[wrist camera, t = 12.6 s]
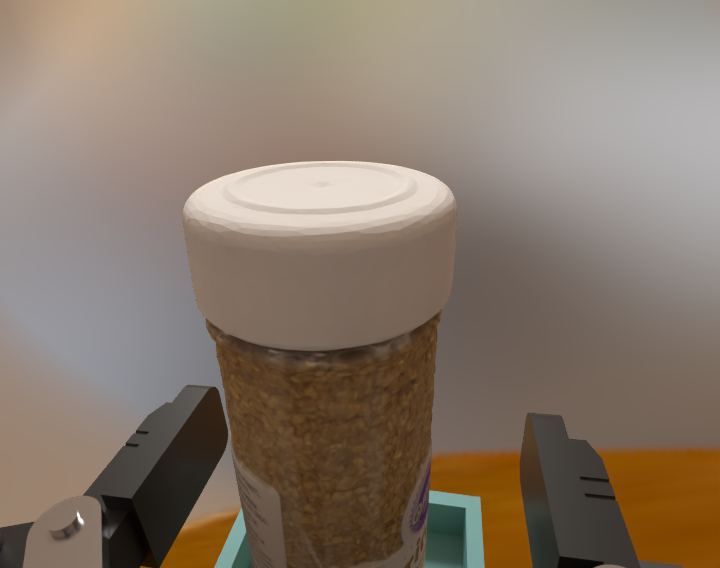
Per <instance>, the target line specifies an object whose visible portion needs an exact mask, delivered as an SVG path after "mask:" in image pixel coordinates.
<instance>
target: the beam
mask: <svg viewBox="0 0 720 568" xmlns="http://www.w3.org/2000/svg"><path fill="white" fill-rule="evenodd" d="M214 568H253V565H252V560H251V554H250V549H249V544H248V538H247V533H246V527H245V522H244V517H243V511H242V508H241V510H240V512H239V514H238V517H237V519H236V521H235V523H234V525H233V528H232V530H231V532H230V534H229V536H228V539H227V541H226V543H225V545H224V547H223V550H222V552H221V554H220V556H219V558H218V561H217V563H216V565H215V567H214ZM425 568H484V553H483V536H482V519H481V503H480V497H475V496H467V495H460V494H452V493H445V492H437V491H430V490H429V507H428V517H427V533H426V548H425Z"/></svg>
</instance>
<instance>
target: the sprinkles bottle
mask: <svg viewBox="0 0 720 568" xmlns="http://www.w3.org/2000/svg"><path fill="white" fill-rule="evenodd" d="M456 218H457V205H456V201H455V198H454V195H453V193H452V192H451V190H450V189H449V188H448V187H447V186H446V185H445V184H444V183H442V182H441V181H439V180H438V179H437V178H435V177H432V176H430V175H428V174H425V173H422V172H419V171H416V170H413V169H409V168H404V167H400V166H395V165H388V164H380V163H372V162H353V161H317V162H297V163H286V164H278V165H270V166H264V167H259V168H254V169H248V170H244V171H240V172H237V173H233V174H230V175H226V176H223V177H221V178H218V179H215V180H213V181H211V182H209V183H207V184H205V185H204V186H202V187H201V188H199V189H198V190H196V191H195V192H194V193H193V194H192V195H191V196H190V198H189V199H188V200H187V202H186V204H185V206H184V210H183V226H184V233H185V240H186V247H187V254H188V260H189V265H190V271H191V277H192V282H193V287H194V292H195V297H196V301H197V305H198V308H199V310H200V311H201V313H202V315H203V316H204V317H205V318H206V327H207V329H208V331H209V333H210V335H211V337H212V339H213V340H214V341H215V342H216V351H217V358H218V362H219V366H220V371H221V376H222V381H223V387H224V390H225V398H226V408H227V414H228V418H229V424H230V446H231V451H232V457H233V462H234V468H235V473H236V479H237V484H238V490H239V495H240V501H241V506H242V511H243V517H244V522H245V527H246V533H247V538H248V544H249V549H250V554H251V560H252V565H253V568H425V548H426V533H427V517H428V507H429V488H430V469H431V454H432V439H431V422H432V407H433V398H434V374H435V353H436V343H437V325H438V324H439V322H440V319H441V318H440V315H441V312H442V308H443V307H444V305H445V304H446V302H447V300H448V298H449V295H450V292H451V286H452V276H453V265H454V256H455V239H456V220H457V219H456Z"/></svg>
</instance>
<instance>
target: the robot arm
mask: <svg viewBox="0 0 720 568" xmlns="http://www.w3.org/2000/svg"><path fill="white" fill-rule="evenodd" d="M227 440H228V429H227V424H226V420H225V416H224V412H223V407H222V403H221V399H220V395H219V391H218V389H217V388H216V387H209V386H196V385H187V386H185V387H184V388H183V389H182V391H181V392H180V393H179V394H178V396H177V397H176V398H175V400H174V401H173V402H172V403H165V404H164V405H162V406H161V407H159V408H158V409H157V410H155V411H154V412H153V413H151V414H150V415H148V417H147V418H146V419H145V420H144V421H143V423H142V424H141V425H140V426H139V428H138V429H137V430H136V433H135V434H133V435H132V436H131V437H130V438H129V440H128V441H127V442H126V446H123V447H122V448H121V449H120V451H119V452H118V453H117V455H116V456H115V457H114V458H113V459H112V461H111V462H110V463H109V464H108V465H107V467H106V468H105V469H104V470H103V471H102V473H101V474H100V475H99V476H98V478H97V479H96V480H95V481H94V482H93V484H92V485H91V486H90V487H89V489H88V490H87V491H86V492H85V493H84V495H83V496H76V497H72V498H69V499H66V500H63V501H61V502H59V503H57V504H56V505H54V506H52V507H51V508H49V509H48V510H47V511H45V512H44V513H43V514H42V515H41V516H40V517H39V518H38V519H37V520H36V521H35V522H30V523H25V524H19V525H14V526H8V527H2V528H0V568H140V566H145V567H152V568H159V567H160V566H161V564H162V562H163V560H164V559H165V557H166V555H167V553H168V551H169V550H170V548H171V546H172V544H173V542H174V541H175V539H176V537H177V535H178V534H179V532H180V530H181V528H182V526H183V525H184V523H185V521H186V519H187V517H188V516H189V514H190V512H191V510H192V509H193V507H194V505H195V503H196V501H197V500H198V498H199V496H200V494H201V492H202V491H203V489H204V487H205V485H206V484H207V482H208V480H209V478H210V476H211V475H212V473H213V471H214V469H215V467H216V466H217V464H218V462H219V460H220V459H221V457H222V455H223V453H224V451H225V448H226V445H227ZM520 482H521V490H522V497H523V503H524V510H525V517H526V523H527V530H528V536H529V543H530V550H531V556H532V563H533V568H641V567H640V564H639V562H638V559H637V556H636V553H635V550H634V548H633V545H632V542H631V539H630V536H629V533H628V531H627V528H626V525H625V522H624V519H623V517H622V514H621V511H620V508H619V505H618V503H617V501H616V500H615V494H614V491H613V489H612V486H611V483H609V477H608V475H607V472H606V469H605V466H604V463H603V460H602V458H601V457H600V456H599V455H598V454H597V453H596V451H595V450H594V449H593V448H592V447H591V446H590V444H589V443H588V442H587V441H586V440H576V439H569V438H568V435H567V432H566V428H565V424H564V421H563V418H562V417H561V416H560V415H549V414H536V413H528V414H527V417H526V423H525V430H524V437H523V444H522V451H521V458H520Z"/></svg>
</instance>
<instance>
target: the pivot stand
mask: <svg viewBox="0 0 720 568" xmlns="http://www.w3.org/2000/svg"><path fill="white" fill-rule="evenodd" d="M638 562H639V564H640V567H641V568H683V566H680V565H673V564H665V563H657V562H649V561H641V560H638Z"/></svg>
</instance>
